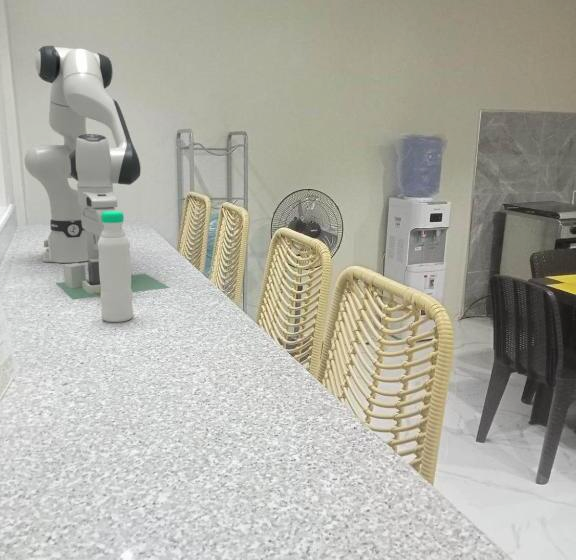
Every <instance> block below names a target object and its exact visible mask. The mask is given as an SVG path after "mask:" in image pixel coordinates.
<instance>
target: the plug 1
mask: <svg viewBox="0 0 576 560" xmlns="http://www.w3.org/2000/svg"><path fill="white" fill-rule="evenodd" d="M85 266H86V265H85V264H83V263H80V262H72V263H64V264H63V272H64V282H65V286H67V287H70V288H78V287H82V281H86V280H87V279H86V267H85Z"/></svg>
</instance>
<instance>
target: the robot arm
mask: <svg viewBox="0 0 576 560" xmlns="http://www.w3.org/2000/svg"><path fill="white" fill-rule="evenodd" d="M112 64H113V63H112V61H111V60H110V58H109V57H108V56H106V55H104V54H101V53H99V52H97V53H95V52H91V51H90V50H87V49H85V48H81V47H80V48H78V47H77V48H70V47H58V46H54V45H43V46H42V47H40V48H39V49H38V52H37V53H36V57H35V68H36V71H37V75H38V77H39V78H40V80H42V81H44V82H46V83H49V84H51V87H50V95H49V96H50V97H49V98H50V99H49V113H48V116H49V117H48V123H49V126H50V127H51V129H52V130H53V132H55V133H56V134H58V135H60V136H62V137H63V140H64V141H63V143H64V144H62V145H61V144H43V145H38V146H33V147H32V146H31V147H29V148H28V150H27V151H26V153H25V156H24V165H25V168H26V171H27V172H28V173H29V175H31V176H32V177H34V179H36V180H37V181H38V182H39V183H40V184H41V185H42V187H44V190H45V191H46V193H47V196H48V201H49V206H50V214H51V219H50V224H49V226H50V230H51V231H50V233H49V235H48V237H47V239H45V240H44V241H43V248H46V249H45V251H43V253H42V262H46V263H59V264H63V263H64V264H72V263H80V262H88V250H87V234H86V230H87V231H89V232H91V234H92V239H93V243H94V249H95V250H97V251H99V249H98V241H99V238H100V237H101V233H102V231H103V229H104V225H103V224H102V223H103V222H102V220H101V214H102V213H103V212H106V211H116V208H117V207H118V199H117V197H116V196H115V194H114V186H113V184H118V185H127V186H130V185H132V184H133V183H134V182H136V181H137V180H138V179H139V178H140V176H141V172H142V171H141V170H142V169H141V168H142V167H141V166H142V165H141V160H140V158H139V155H138V153H137V151H136V149H135V146H134V143H133V141H132V138H131V135H130V131H129V129H128V126H127V123H126V120H125V116H124V115H123V111H122V109H121V107H120V105H119V103H118V101H116V100H115V99H113V98H112V97H111V96H110V95H109V94H108V92H107V91H106V90H105V89H106V88H108V87H110V85H111V83H112V80H113V77H114V70H113V65H112ZM86 119H91V120H93V121H96V122H98V123H101V124H103V125H105V126H107V127H108V129H109V130H111V133H112V136H113V139H114V142H115V146H116V147H110V143H109V141H108V138H107V137H106V136H104V135H102V134H96V133H87V128H86V127H87V126H86V124H87V122H86V121H87V120H86ZM69 179H74V180H76V181H77V183H76V185H77V186H76V189H77V190H76V189H74V188H72V187H71V186H70V184H69Z"/></svg>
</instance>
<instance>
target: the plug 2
mask: <svg viewBox="0 0 576 560" xmlns="http://www.w3.org/2000/svg"><path fill="white" fill-rule="evenodd" d="M87 266H88V269H87V271H88V280H89V284H90V285H100V276H99V258H97V259H89V260H88V261H87Z"/></svg>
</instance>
